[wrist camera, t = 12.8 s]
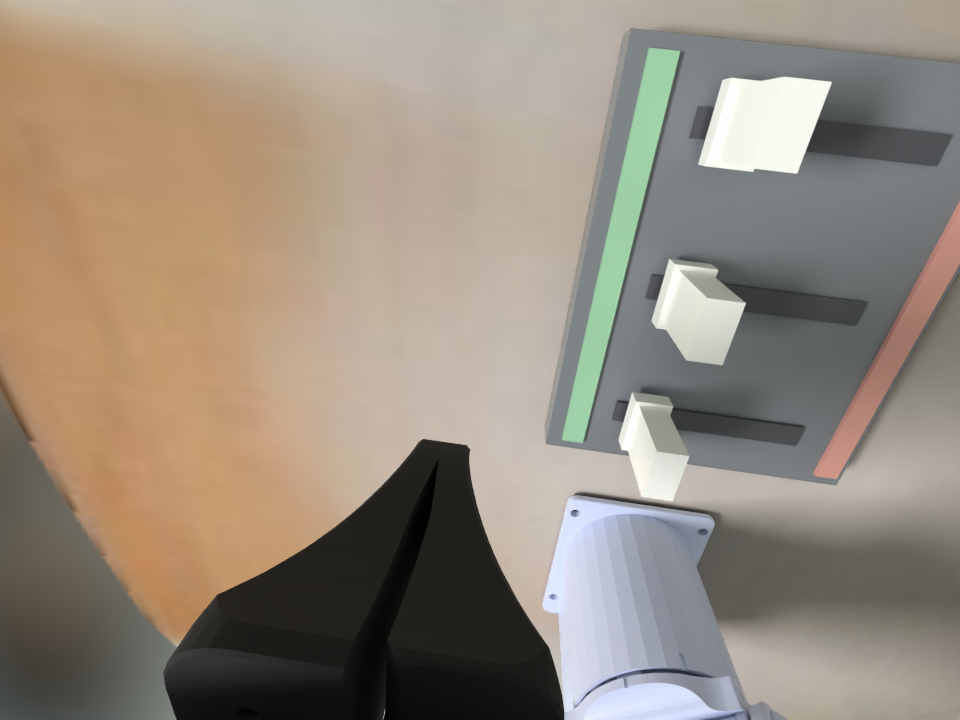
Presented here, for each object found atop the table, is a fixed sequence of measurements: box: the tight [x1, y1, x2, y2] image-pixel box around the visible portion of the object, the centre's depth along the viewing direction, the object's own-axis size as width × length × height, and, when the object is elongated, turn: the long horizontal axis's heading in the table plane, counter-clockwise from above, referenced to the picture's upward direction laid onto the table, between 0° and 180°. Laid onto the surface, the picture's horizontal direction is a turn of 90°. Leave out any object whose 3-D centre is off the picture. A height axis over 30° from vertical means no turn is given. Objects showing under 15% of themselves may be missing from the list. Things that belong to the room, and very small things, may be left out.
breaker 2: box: [698, 77, 832, 174], centre depth 14 cm, size 3×2×4 cm, turn 174°
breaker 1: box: [618, 392, 689, 501], centre depth 20 cm, size 3×2×4 cm, turn 174°
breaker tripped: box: [652, 259, 746, 365], centre depth 17 cm, size 3×2×4 cm, turn 174°
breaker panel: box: [545, 28, 960, 485], centre depth 20 cm, size 17×14×2 cm
